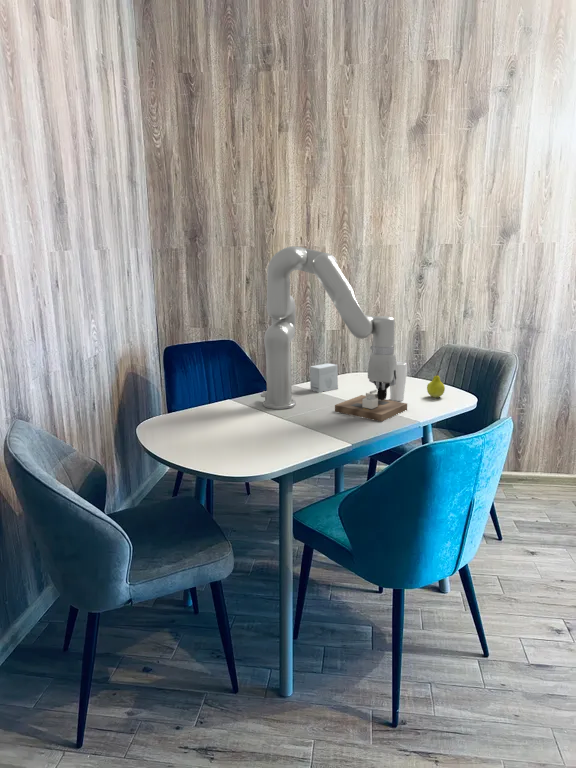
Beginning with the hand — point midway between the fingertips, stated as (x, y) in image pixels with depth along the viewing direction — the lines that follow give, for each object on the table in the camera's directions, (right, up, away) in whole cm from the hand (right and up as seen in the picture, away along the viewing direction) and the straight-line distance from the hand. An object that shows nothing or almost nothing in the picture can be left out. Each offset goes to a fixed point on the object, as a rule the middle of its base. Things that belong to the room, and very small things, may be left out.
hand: (381, 399), depth 210 cm
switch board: (-4, -4, -1) cm, 6 cm away
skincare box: (-20, +3, +31) cm, 37 cm away
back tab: (-3, -1, +3) cm, 4 cm away
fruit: (+24, 0, +17) cm, 29 cm away
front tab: (-5, -3, -6) cm, 8 cm away
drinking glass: (+8, -1, +13) cm, 16 cm away
